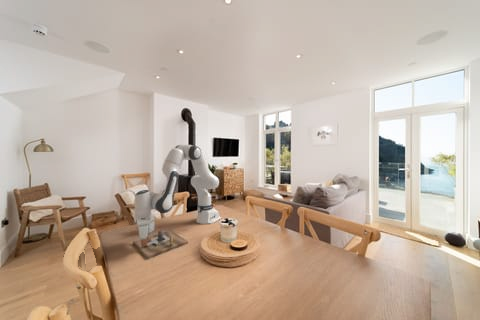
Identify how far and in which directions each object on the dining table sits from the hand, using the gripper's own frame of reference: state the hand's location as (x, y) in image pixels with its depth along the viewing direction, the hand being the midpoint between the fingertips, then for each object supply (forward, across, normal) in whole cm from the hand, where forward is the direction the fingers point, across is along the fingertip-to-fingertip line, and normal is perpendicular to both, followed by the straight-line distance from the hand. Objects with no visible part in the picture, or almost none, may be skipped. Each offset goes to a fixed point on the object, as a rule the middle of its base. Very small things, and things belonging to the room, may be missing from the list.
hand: (142, 240), depth 108 cm
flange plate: (+2, +1, +7) cm, 7 cm away
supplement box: (+4, -24, +3) cm, 24 cm away
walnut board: (+4, 0, +10) cm, 11 cm away
